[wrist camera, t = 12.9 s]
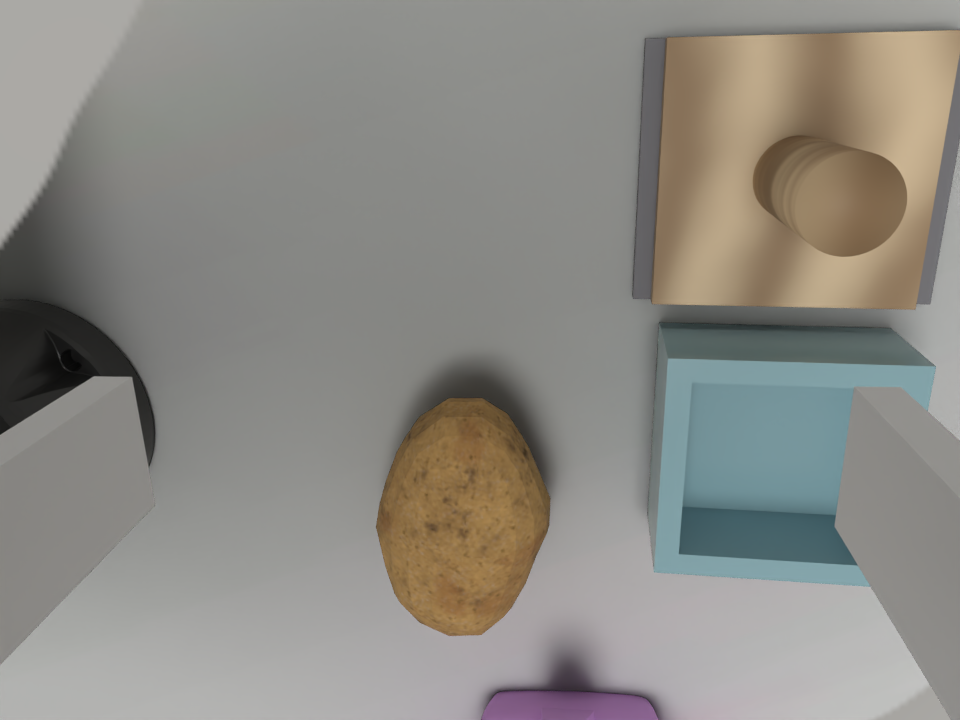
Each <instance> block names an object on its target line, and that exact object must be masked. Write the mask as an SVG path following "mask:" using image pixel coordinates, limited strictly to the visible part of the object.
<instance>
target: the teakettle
mask: <svg viewBox="0 0 960 720" xmlns="http://www.w3.org/2000/svg"><path fill="white" fill-rule="evenodd" d="M481 720H659V719H658V717H657V715H656V713H655V711H654V709H653V707H652V706H651V704H650V703H649V701H648V700H647V699H645V698H644V697H639V696H634V695H625V694H613V693H597V692H578V691H504V692H498V693H497V694H495V695H494V697H493V698H492V699H491V701H490V702H489V703H488V705H487V707H486V709H485V711H484V713H483V716H482V719H481Z"/></svg>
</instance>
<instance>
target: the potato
mask: <svg viewBox="0 0 960 720" xmlns="http://www.w3.org/2000/svg"><path fill="white" fill-rule="evenodd" d="M549 516H550V496H549V494H548V492H547V489H546V487H545V485H544V482H543V480H542V477H541V475H540V473H539V470H538V468H537V466H536V463H535V461H534V459H533V456H532V454H531V452H530V449H529V447H528V445H527V444H526V442H525V440H524V439H523V437H522V435H521V434H520V432H519V431H518V429H517V428H516V426H515V425H514V423H513V421H512V420H511V418H510V417H509V415H508V414H507V413H505V412H504V411H502V410H501V409H499V408H497V407H496V406H494V405H493V404H491V403H489V402H488V401H486V400H485V399H483V398H448V399H447V400H445V401H444V402H442V403H440V404H439V405H437V406H436V407H434V408H433V409H431V410H429V411H428V412H426V413H425V414H423V415H421V416H420V417H419V418H418V420H417V421H416V422H415V424H414V425H413V427H412V428H411V430H410V431H409V433H408V434H407V436H406V437H405V439H404V441H403V442H402V444H401V446H400V447H399V449H398V451H397V453H396V456H395V459H394V461H393V464H392V466H391V469H390V472H389V474H388V477H387V480H386V483H385V486H384V490H383V494H382V497H381V501H380V505H379V511H378V518H377V525H376V529H377V533H378V537H379V541H380V545H381V549H382V554H383V558H384V562H385V566H386V569H387V572H388V575H389V578H390V581H391V584H392V587H393V590H394V593H395V595H396V596H397V598H398V600H399V602H400V603H401V604H402V605H403V606H404V607H405V608H406V609H407V610H408V611H409V612H410V613H411V614H412V615H413V616H414V617H415V618H416V619H417V620H418V621H419V622H420V623H422V624H424V625H426V626H429V627H431V628H433V629H435V630H437V631H440V632H442V633H444V634H446V635H448V636H463V635H482V634H483V633H484V632H485V631H487V630H488V629H489V628H490V627H492V626H493V625H494V624H495V623H497V622H498V621H499V620H500V619H501V618H503V617H504V616H505V615H506V613H507V612H508V611H509V610H510V609H511V607H512V606H513V604H514V602H515V601H516V599H517V597H518V595H519V594H520V592H521V590H522V588H523V587H524V585H525V583H526V581H527V578H528V576H529V573H530V570H531V568H532V565H533V563H534V560H535V558H536V555H537V553H538V551H539V549H540V546H541V544H542V542H543V540H544V538H545V536H546V533H547V530H548V527H549Z"/></svg>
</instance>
